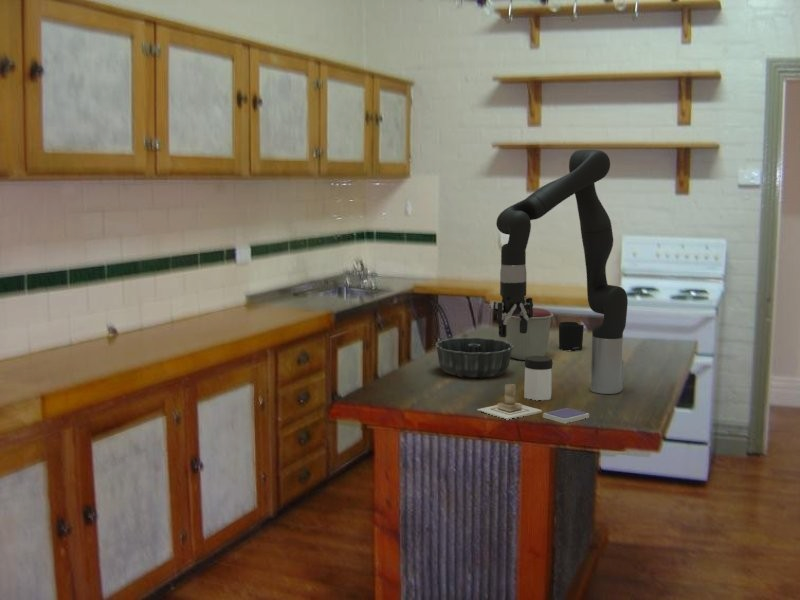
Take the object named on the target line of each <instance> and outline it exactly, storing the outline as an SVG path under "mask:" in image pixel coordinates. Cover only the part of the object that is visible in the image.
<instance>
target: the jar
mask: <svg viewBox="0 0 800 600" xmlns="http://www.w3.org/2000/svg"><path fill="white" fill-rule="evenodd" d="M524 361H525V362H524V366H525V367H524V385H523V386H524V390H523V392H524V394H523V398H524V399H526V398H527V399H526V400H530V399H532V400H531V401H535V400H536V401H537V402H538V400H541V401H550V400H551V399H552V388H553V387H552V386H553V385H552V383H553V364H554V363H553V358H552V357H549V356H530V357H526V358H525V360H524Z"/></svg>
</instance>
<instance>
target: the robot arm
mask: <svg viewBox="0 0 800 600" xmlns="http://www.w3.org/2000/svg"><path fill="white" fill-rule="evenodd" d="M610 168H611V159H610V157H609V155H608V153H606V152H604V151H603V150H600V149H579V150H575V151H574V152H573V153H572V154H571V155H570V158H569V161H568V170H569V171H568V172H569V173H567V174H565V175H563V176H562V177H559V178H557V179H555V180H552V181H550V182H548V183H545V185H542V186H541V187H539V188H538V189H536V190H535V191H534V192H533V193H531V194H529V196H527V197H526V198H524V199H523V200H520V201H518V202H516V203H514V204H512V205H510V206H508V207H506V208H505V209H503V211H501V212H500V213H499V215H498V217H497V218H496V223H495V224H496V228H497V230H498V231H499V232H500V233H502V234H504V235H508V236H509V237H508V240H507V243H505V244H503V245H502V246H501V249H500V254H501V255H500V272H499V277H500V279H499V282H500V283H499V295H500V297H501V302H500V301H494V302H493V306H492V307H493V309H492V311H493V313H492V322H493V323H495V324H498V336H499V337H500V338H507V325H506V323H507V321H508V319H509V318H510V317H511V315H515V314H517V315H518V316H519V318H520V333H523V334H525V333H527V321H528V320H529V318H532V317H533V308H534V303H533V297H527V265H526V263H527V262H526V260H527V258H526V257H527V256H526V255H527V253H526V250H527V246H528V243H529V240H530V235H531V229H532V223H531V222H532V221H534V220H538V219H540V218H543V216H545V215H546V214H548V213H549V212H550V211H551V210H553V209H554V208H555V207H557V206H558V205H559V204H561V203H563V202H564V201H565V200H566V199H568V198H570V197H572V196H573V195H575V201H576V206H577V213H578V218H579V224H580V225H579V226H580V227H579V228H580V232H581V233H580V234H581V241H582V246H583V254H584V262H585V268H586V269H585V270H586V271H585V272H586V290H587V291H586V292H587V294H586V295H587V302H588V306H589V308H590V310H591V311H592V312H594V313H597V314H601V315H603V319H602V320H603V321H602V322H601V323H600V324H598V325H595V326H593V328H592V332H591V333H592V334H591V362H590V363H591V364H590V365H591V366H590V391H591V392H593V393H597V394H602V395H603V394H604V395H615V394H619V393H621V391H623V385H624V384H623V382H624V363H625V362H624V360H623V340H624V339H623V338H624V337H623V336H624V331H625V329H626V326H627V315H628V314H627V313H628V295H627V292H626V290H625V289H624V288H623V287H621V286H618V285H612V284H608V281H607V270H606V268H607V263H608V260H609V258H610V256H611V255H610V254H611V252H612V250H613V246H614V234H613V227H612V221H611V219H610V216H609V215H608V213H607V211H606V209H605V207H604V205H603V203H601V200H600V199H599V197H598V196H599V195H598V193H597V189H596V186H595V185H596V183H597V182H599V181H601V180H602V179H604V178H605V177H606V176H607V175H608V173H609V171H610ZM528 310H529V313H528ZM504 313H506V314H504Z"/></svg>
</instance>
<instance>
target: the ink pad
mask: <svg viewBox="0 0 800 600" xmlns="http://www.w3.org/2000/svg"><path fill="white" fill-rule="evenodd" d="M542 418H544V419H548V420H550V421H554V422H557V423H561V424H569V422H570V423H573V422H577V421H581V420H586V419H589V418H590V413H588V412H584V411H582V410H581V411H580V410H577V409H572V408H569V407H565V408H561V409H557V410H553V411H547V412H542ZM585 418H586V419H585Z"/></svg>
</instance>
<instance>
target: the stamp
mask: <svg viewBox="0 0 800 600" xmlns="http://www.w3.org/2000/svg"><path fill="white" fill-rule="evenodd" d="M516 388H517V387H516V384H514V383H505V384H504V401H502V402H498V403H497V405H498V410H501V411H505V412H508V413H512V412H516V411H521V410H522V405H523V404H522V403H519V402H516Z"/></svg>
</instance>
